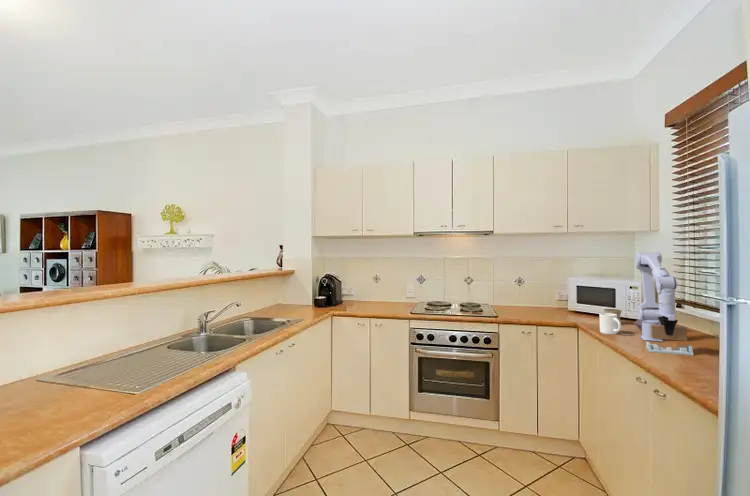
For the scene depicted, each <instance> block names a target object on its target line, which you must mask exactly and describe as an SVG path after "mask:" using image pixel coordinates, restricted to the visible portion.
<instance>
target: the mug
mask: <svg viewBox="0 0 750 496" xmlns="http://www.w3.org/2000/svg"><path fill="white" fill-rule="evenodd" d="M598 315H599V318H598V319H599V332H600V333H601V334H603V335H611V336H612V335H613V336H614V335H617V334H618V333H619V332H620V331H621V329H622V322H621V320H620V321H619V320H618V319H617V314H612V313H605V312H601V313H600V312H599V314H598Z"/></svg>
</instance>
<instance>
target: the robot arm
mask: <svg viewBox="0 0 750 496" xmlns="http://www.w3.org/2000/svg"><path fill="white" fill-rule="evenodd" d="M634 258H635V259H634V260H635V261H634V262H635V267H636V269H637V270H639V272H640V276H641V286H642V288H641V289H642V296H643V302H641V303H639V304H638V305H637V318H638V319H639V320H640V321H642V331H641V335H639V337H640V338H641V340H643V341H646V342H650V341H651V342H664V339H656V338H652V337H651V328H650V325H660V323H661V325H664V328H665V332H666V335H673V332H674V328H675V326H677V323H678V322H679V320H678V319H676V317H677V313H676V294H675V292H676V289H677V288H678V281H677V278H676V277H675V275H670V272H669V271H668V270H667V268H666V267H663V266H662V262H663V256H662V253H660V251H656V252H655V251H654V252H652V251H650V252H639V251H638V252H636V253H635V257H634ZM654 280H655V283H654ZM654 284H655V285H654ZM655 287H656V292H657V296H658V297H657V298H658V302H657V301H656V302H655V300H656V295H655ZM646 308H656V309H646ZM638 319H637V320H638Z"/></svg>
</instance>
